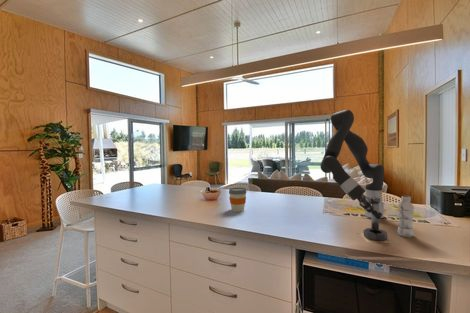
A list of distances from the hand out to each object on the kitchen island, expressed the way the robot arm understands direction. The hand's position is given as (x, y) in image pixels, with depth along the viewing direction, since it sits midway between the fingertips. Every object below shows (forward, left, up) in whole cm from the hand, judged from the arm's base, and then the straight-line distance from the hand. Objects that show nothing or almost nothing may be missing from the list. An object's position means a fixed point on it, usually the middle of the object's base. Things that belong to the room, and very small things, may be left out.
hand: (380, 216), depth 115 cm
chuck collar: (+2, -1, -10) cm, 10 cm away
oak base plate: (+2, -1, -11) cm, 11 cm away
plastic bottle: (-14, -5, -11) cm, 19 cm away
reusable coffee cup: (+71, -55, -11) cm, 90 cm away
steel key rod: (+2, -1, -6) cm, 6 cm away
